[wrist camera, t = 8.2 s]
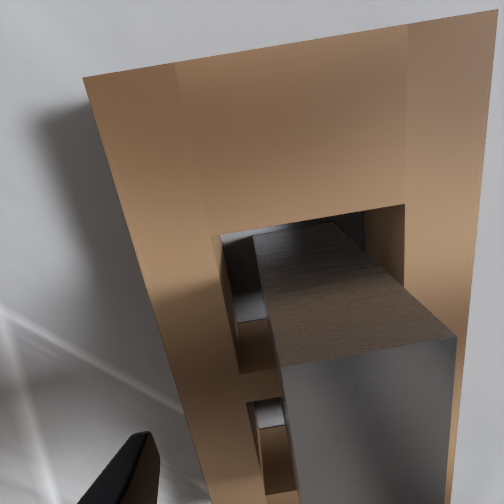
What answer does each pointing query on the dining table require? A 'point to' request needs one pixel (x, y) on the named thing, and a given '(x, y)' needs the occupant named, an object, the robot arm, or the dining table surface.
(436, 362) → the clip
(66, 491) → the dining table surface
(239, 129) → the two-slot wooden tray
